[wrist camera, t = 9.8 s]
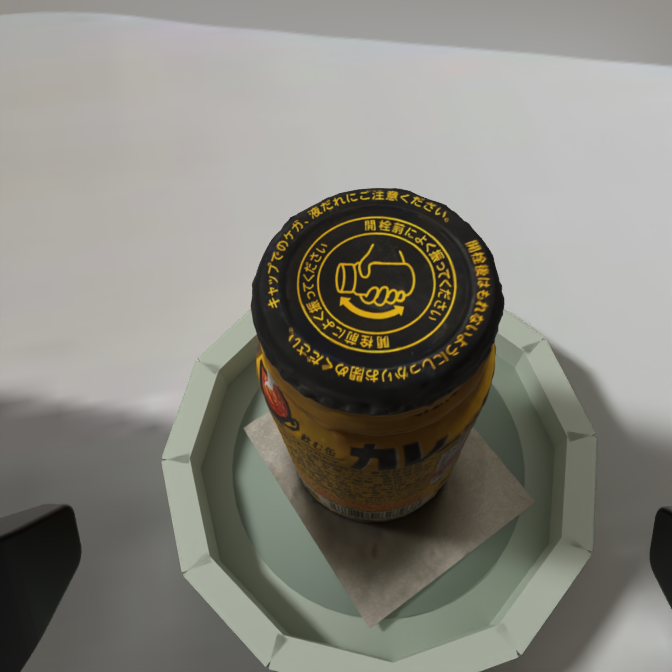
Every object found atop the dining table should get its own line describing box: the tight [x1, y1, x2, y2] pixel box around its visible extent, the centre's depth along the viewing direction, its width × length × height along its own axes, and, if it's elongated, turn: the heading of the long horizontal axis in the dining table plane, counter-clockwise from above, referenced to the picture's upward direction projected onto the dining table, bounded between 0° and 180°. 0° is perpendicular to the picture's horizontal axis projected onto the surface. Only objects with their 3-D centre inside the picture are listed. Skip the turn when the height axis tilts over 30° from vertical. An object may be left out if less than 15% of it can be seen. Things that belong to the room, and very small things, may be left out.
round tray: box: [161, 309, 597, 672], centre depth 22 cm, size 15×15×2 cm
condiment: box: [243, 188, 535, 628], centre depth 17 cm, size 7×8×12 cm
